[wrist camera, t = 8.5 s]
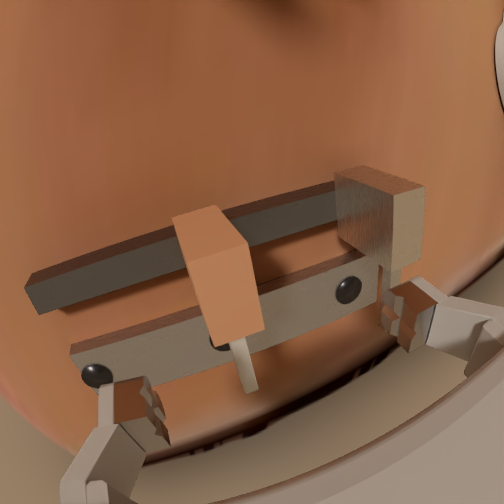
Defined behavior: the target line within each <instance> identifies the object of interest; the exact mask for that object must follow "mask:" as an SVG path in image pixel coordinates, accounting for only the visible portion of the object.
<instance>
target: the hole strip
mask: <svg viewBox="0 0 504 504" xmlns="http://www.w3.org/2000/svg"><path fill="white" fill-rule="evenodd" d="M378 272H379V264H377V263H376V262H375V261H373V260H372V259H370V258H369V257H367V256H366V255H365V254H363V253H362V252H360V251H359V250H355V251H352V252H350V253H347V254H344V255H342V256H339V257H336V258H333V259H331V260H328V261H325V262H323V263H320V264H317V265H314V266H312V267H309V268H306V269H303V270H300V271H298V272H295V273H292V274H289V275H286V276H283V277H281V278H278V279H275V280H272V281H269V282H266V283H263V284H261V285H258V286H257V291H258V296H259V301H260V307H261V312H262V317H263V322H264V327H265V330H262V331H260V332H257V333H254V334H251V335H249V336H246V337H245V339H246V343H247V347H248V350H249V354H253V353H256V352H259V351H261V350H264V349H267V348H269V347H272V346H274V345H277V344H280V343H282V342H285V341H287V340H290V339H292V338H295V337H297V336H300V335H302V334H304V333H307V332H309V331H312V330H314V329H316V328H319V327H321V326H323V325H326V324H328V323H330V322H333V321H335V320H337V319H339V318H342V317H344V316H346V315H348V314H351V313H353V312H355V311H357V310H359V309H361V308H364V307H366V306H368V305H370V304H372V303H374V302H376V301H377V289H378ZM69 356H70V357H71V359H72V360H73V362H74V363H75V365H76V366H77V368H78V369H79V370H80V372H81V373H82V375H81V376H82V380H83V381H84V382H85V383H86V384H87V385H88V386H90V387H92V388H93V390H94V391H95V392H96V393H97V395H98V396H99V388H100V386H101V385H104V384H109V383H114V382H117V381H122V380H126V379H131V378H136V377H140V376H147V378H148V380H149V381H150V383H151V387H152V386H156V385H159V384H163V383H166V382H169V381H173V380H176V379H179V378H182V377H186V376H189V375H192V374H195V373H198V372H201V371H204V370H207V369H210V368H213V367H216V366H219V365H222V364H225V363H228V362H231V361H234V359H233V355H232V352H231V349H230V346H229V343H226V344H223V345H220V346H217V347H214V344H213V342H212V339H211V336H210V334H209V331H208V328H207V326H206V323H205V320H204V317H203V315H202V312H201V309H200V306H199V305H198V306H195V307H192V308H189V309H186V310H183V311H180V312H177V313H173V314H170V315H167V316H164V317H161V318H158V319H154V320H151V321H148V322H145V323H142V324H138V325H135V326H132V327H129V328H125V329H122V330H119V331H116V332H112V333H109V334H106V335H102V336H99V337H95V338H92V339H89V340H85V341H82V342H78V343H75V344H71V348H70V354H69Z"/></svg>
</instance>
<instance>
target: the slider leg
mask: <svg viewBox="0 0 504 504" xmlns="http://www.w3.org/2000/svg"><path fill="white" fill-rule="evenodd" d="M172 220H173V224H174V227H175V231H176V234H177V238H178V241H179V244H180V248H181V251H182V254H183V258H184V261H185V264H186V267H187V271H188V274H189V277H190V280H191V283H192V286H193V289H194V292H195V295H196V298H197V301H198V303H199V306H200V309H201V312H202V315H203V317H204V320H205V323H206V326H207V328H208V331H209V334H210V336H211V339H212V342H213V344H214V347H217V346H220V345H223V344H226V343H229V346H230V349H231V352H232V355H233V359H234V362H235V365H236V368H237V371H238V374H239V377H240V380H241V383H242V386H243V388H244V390H245V393H246V394H248V393H251V392H254V391H256V390H259V388H258V384H257V381H256V377H255V373H254V369H253V366H252V362H251V358H250V354H249V350H248V347H247V343H246V339H245V337H246V336H249V335H251V334H254V333H257V332H260V331H262V330H265V327H264V322H263V317H262V312H261V307H260V301H259V296H258V291H257V286H256V281H255V276H254V271H253V266H252V261H251V256H250V251H249V246H248V243H247V241H246V240H245V239H244V238H243V237H242V235H241V234H240V233H239V232H238V231H237V230H236V228H235V227H234V226H233V225H232V224H231V222H230V221H229V220H228V219H227V218H226V217H225V215H224V214H223V213H222V212H221V211H220V209H219V208H218V207H217V206H216V205H212V206H209V207H206V208H202V209H199V210H195V211H192V212H189V213H185V214H182V215H179V216H175V217H172Z"/></svg>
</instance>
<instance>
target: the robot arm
mask: <svg viewBox="0 0 504 504" xmlns="http://www.w3.org/2000/svg"><path fill="white" fill-rule="evenodd" d="M495 60H496V71H497V79H498V85H499V90H500V95H501V99H502V103H503V106H504V14H503V22H502V24H501V26H500V27H499V29H498V32H497V36H496V43H495ZM383 302H384V303H385V306H384V307H383V309H382V311H381V320H382V324H383V326H384V328H385V330H386V331H387V332H388V333H389V334H390V335H394V336H397V342H398V343H399V344H400V345H401V346H402V347H403V348H404V349H405V350H406V351H407V352H408V353H410V352H412V351H414V350H415V349H417V348H419V347H421V346H422V345H424V344H426V345H428V346H431V347H433V348H436V349H438V350H441V351H443V352H446V353H448V354H451V355H454V356H456V357H458V358H461V359H464V360H466V361H468V364H467V366H466V368H465V370H464V374H465V376H466V377H467V379H466V380H464V381H463V382H462V383H461V384H459V385H458V386H457V387H455V388H454V389H453V390H452V391H450V392H449V393H447V394H446V395H444V396H443V397H442V398H440V399H439V400H438V401H436V402H435V403H433V404H432V405H430V406H429V407H428V408H426V409H424V410H423V411H421V412H420V413H418V414H417V415H416V416H414V417H412V418H411V419H409V420H407V421H406V422H404V423H403V424H401V425H399V426H398V427H396V428H394V429H393V430H391V431H389V432H387V433H386V434H384V435H382V436H380V437H379V438H377V439H375V440H374V441H372V442H370V443H368V444H366V445H364V446H362V447H360V448H358V449H356V450H354V451H352V452H350V453H348V454H346V455H344V456H342V457H340V458H338V459H336V460H333V461H331V462H329V463H327V464H325V465H322V466H320V467H318V468H316V469H313V470H311V471H308V472H306V473H303V474H301V475H298V476H296V477H293V478H291V479H288V480H285V481H283V482H280V483H277V484H274V485H271V486H268V487H265V488H262V489H259V490H256V491H253V492H250V493H246V494H243V495H239V496H236V497H232V498H229V499H225V500H221V501H217V502H213V503H209V504H504V308H503V307H499V306H494V305H490V304H485V303H481V302H476V301H472V300H467V299H462V298H458V297H453V296H450V297H447V296H446V295H445V294H443V293H442V292H441V291H439V290H438V289H437V288H435V287H434V286H433V285H431V284H430V283H429V282H427V281H426V280H425V279H423V278H422V277H419V276H416V277H414V278H412V279H410V280H408V281H406V282H404V283H402V284H399V285H397V286H395V287H393V288H391V289H389V290H387V291H385V293H384V294H383ZM165 419H166V417H165V412H164V408H163V405H162V402H161V400H160V397H159V396H158V394H157V392H156V391H154V390H152V389H151V383H150V381H149V380H148V378H147V376H140V377H136V378H131V379H126V380H122V381H117V382H114V383H109V384H104V385H101V386H100V388H99V404H98V427H97V428H94V429H93V430H92V432H91V434H90V435H89V437H88V438H87V440H86V441H85V443H84V444H83V446H82V448H81V449H80V451H79V452H78V454H77V455H76V457H75V459H74V460H73V462H72V463H71V465H70V467H69V468H68V470H67V471H66V473H65V475H64V476H63V478H62V480H61V481H60V504H138V503H136V502H134V501H133V500H131V499H130V498H129V497H130V495H131V492H132V490H133V487H134V484H135V482H136V479H137V477H138V474H139V471H140V469H141V467H142V464H143V462H144V459H145V457H146V452H151V451H155V450H159V449H163V448H167V447H171V445H170V440H169V434H168V429H167V428H166V427H165V425H164V424H163V422H164V420H165Z"/></svg>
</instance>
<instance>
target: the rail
mask: <svg viewBox="0 0 504 504" xmlns="http://www.w3.org/2000/svg"><path fill="white" fill-rule="evenodd" d="M424 205H425V186H423V185H420V184H418V183H415V182H412V181H409V180H406V179H404V178H401V177H398V176H395V175H392V174H389V173H386V172H383V171H380V170H377V169H374V168H370V167H367V166H359V167H354V168H350V169H345V170H341V171H337V172H334V181H331V182H327V183H323V184H319V185H315V186H311V187H307V188H303V189H299V190H296V191H292V192H288V193H284V194H280V195H277V196H273V197H269V198H266V199H262V200H258V201H255V202H251V203H248V204H244V205H240V206H237V207H233V208H230V209H226V210H223V211H221V212H222V213H223V214H224V215H225V217H226V218H227V219H228V220H229V221H230V222H231V224H232V225H233V226H234V227H235V228H236V230H237V231H238V232H239V233H240V234H241V235H242V237H243V238H244V239H245V240H246V241H247V243H248V246H249V247H252V246H256V245H259V244H262V243H265V242H268V241H271V240H275V239H278V238H281V237H284V236H287V235H290V234H294V233H297V232H300V231H303V230H306V229H310V228H313V227H316V226H319V225H322V224H326V223H329V222H332V221H335V220H337V226H338V237H340V238H341V239H343V240H344V241H346V242H347V243H349V244H350V245H352V246H353V247H354V248H356V249H357V250H359V251H360V252H362V253H363V254H365V255H366V256H367V257H369V258H370V259H372V260H373V261H375V262H376V263H377V264H379V265H380V266H382V267H383V276H382V290H381V303H380V314H379V323H378V326H379V327H380V328H381V329H382V330H383V331H384V332H386V330H385V328H384V326H383V324H382V320H381V311H382V309H383V307H384V306H385V303H384V302H383V294H384V293H385V291H387V290H389V289H391V288H393V287H395V286H397V285H399V284H400V275H401V268H403V267H405V266H407V265H409V264H411V263H413V262H415V261H417V260H420V257H421V247H422V236H423V223H424ZM183 268H186V264H185V261H184V258H183V254H182V251H181V248H180V244H179V241H178V238H177V234H176V231H175V227H174V225H173V226H170V227H167V228H163V229H160V230H157V231H154V232H151V233H148V234H145V235H141V236H138V237H135V238H132V239H129V240H126V241H123V242H120V243H117V244H114V245H111V246H108V247H105V248H102V249H99V250H96V251H93V252H91V253H88V254H85V255H82V256H79V257H76V258H73V259H71V260H68V261H65V262H62V263H60V264H57V265H54V266H51V267H49V268H46V269H43V270H40V271H38V272H35V273H32V274H31V276H30V278H29V280H28V281H27V283H26V285H25V287H24V289H25V291H26V293H27V294H28V296H29V298H30V300H31V302H32V304H33V305H34V307H35V309H36V311H37V313H38V314H39V315H41V314H44V313H47V312H50V311H53V310H56V309H59V308H62V307H65V306H68V305H71V304H74V303H78V302H81V301H84V300H87V299H90V298H93V297H96V296H99V295H102V294H105V293H108V292H112V291H115V290H118V289H121V288H124V287H127V286H130V285H133V284H136V283H139V282H143V281H146V280H149V279H152V278H155V277H158V276H161V275H164V274H168V273H171V272H174V271H177V270H180V269H183Z"/></svg>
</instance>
